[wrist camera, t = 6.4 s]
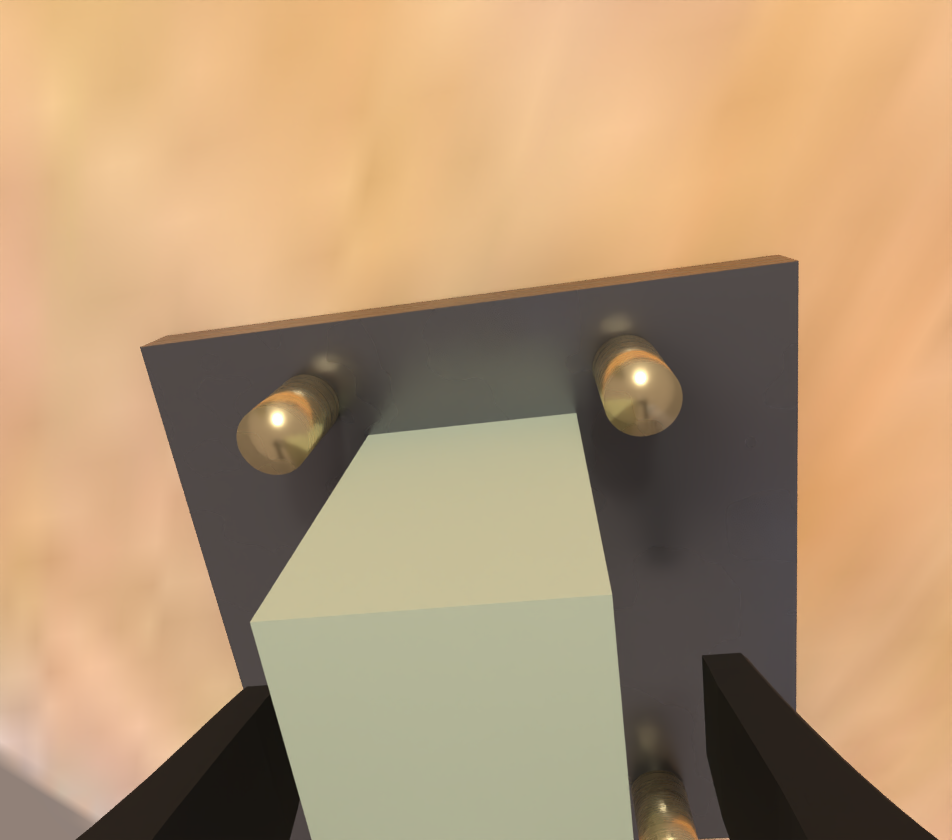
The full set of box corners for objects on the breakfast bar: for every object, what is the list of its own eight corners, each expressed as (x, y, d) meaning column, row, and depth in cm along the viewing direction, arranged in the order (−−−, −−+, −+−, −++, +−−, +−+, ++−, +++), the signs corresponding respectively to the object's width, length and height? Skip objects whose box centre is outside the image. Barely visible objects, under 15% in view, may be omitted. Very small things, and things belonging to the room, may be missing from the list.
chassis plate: (780, 798, 17) (831, 923, 14) (306, 819, 18) (264, 937, 15) (778, 254, 13) (850, 276, 10) (166, 335, 14) (74, 375, 11)
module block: (576, 413, 13) (612, 594, 7) (609, 750, 15) (654, 1080, 10) (368, 435, 13) (250, 622, 8) (432, 759, 16) (379, 1079, 10)
